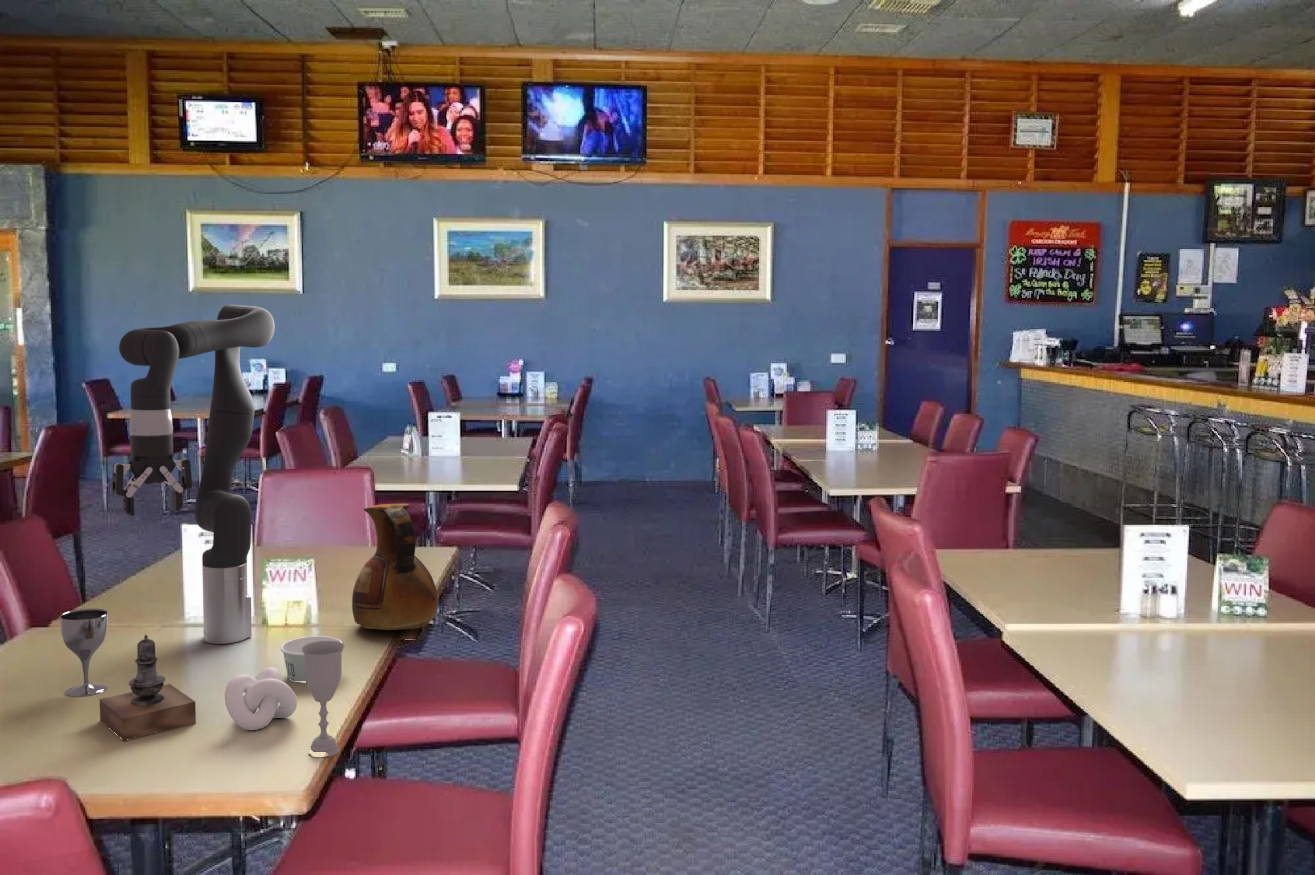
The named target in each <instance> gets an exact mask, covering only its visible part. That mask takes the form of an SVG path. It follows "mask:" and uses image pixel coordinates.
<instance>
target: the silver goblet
mask: <svg viewBox="0 0 1315 875" xmlns="http://www.w3.org/2000/svg"><path fill="white" fill-rule="evenodd" d="M59 621H60V622H59V624H60V626H59V627H60V633H61V637H62V640H63V643H64V645H65V646H66V648H68V650H70V651H71V652H72V653H73V654H75V655H76V656H77V657H78V659H79V661H80V663H81V667H82V673H83V684H78V685H76V686H72V687H69V688H68V689H67V690H65V692H64V693H65V696H68V697H75V698H77V697H78V698H80V697H81V698H82V697H90V696H94V695H95V696H96V695H98V694H101V693H104V692H105V691H106V690H108V685H106V684H103V683H94V682H93V683H90V682H89V669H90V661H91V659H92V657H93V656H94V654H95V653H96V652H97V651H98V650H99V649H100V647H101V646H102V645H103V643H104V642H105V639H106V636H107V633H108V632H107V631H108V626H109V625H108V624H109V614H108V610H106V609H102V608H80V609H73V610H69V611H67V612H64V613H62V614H61V615H59Z"/></svg>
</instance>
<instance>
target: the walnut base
mask: <svg viewBox="0 0 1315 875" xmlns="http://www.w3.org/2000/svg"><path fill="white" fill-rule="evenodd" d="M158 694H160V695H163V696H164V699H163V701H161V702H159V703H156V704H152V705H146V706H137V705H133V704H132V703H131V700H132V699H133V698H135V697H136V696H137V695H135V694H134V693H133V692H132V691H131V692H126V693H122V694H117V695H112V696H108V697H104V698H100V699H99V720H100V722H101V724H103V725H104V724H105V725H106V726H105V725H104V726H105V727H107V729H109V728H110V729H111V730H112V731H113V732H115V733H116V734H117V735H118V736H119V737H121V738H122V740H127V739H131V738H134V737H139V738H142V737H141V736H143V737H145V736H144V735H147V736H149V735H148V734H151V735H153V734H152V733H155V732H159V733H162V731H163V732H166V730H167V731H171V730H174V728H175V729H178V728H182V727H183V728H184V727H187V726H191V725H194V724H197V717H196V714H197V711H196V710H197V709H196V701H195V700H194V699H193V698H191V697H189V696H188V695H186V693H184V692H182V691H181V690H180V689H178V688H177V687H175V686H173V685H172V684H171V683H169V684H164V685H163V687H162V689H161V691H160V692H159V693H158ZM190 724H191V725H190ZM110 729H109V730H110ZM170 729H171V730H170ZM111 730H110V731H111ZM112 731H111V732H112ZM113 732H112V733H113ZM115 733H114V734H115ZM116 734H115V735H116ZM155 734H156V733H155ZM117 735H116V736H117ZM118 736H117V737H118ZM119 737H118V738H119ZM122 740H121V741H122ZM131 740H132V739H131ZM127 741H128V740H127Z"/></svg>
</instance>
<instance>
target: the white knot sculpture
mask: <svg viewBox="0 0 1315 875" xmlns="http://www.w3.org/2000/svg"><path fill="white" fill-rule="evenodd" d="M224 702H225V707H226V711H227V712H228V714H229V716H230V718H231V719H232V720H233V722H234V723H235V724H236V725H237V726H238V727H240V728H241V729H243V730H245V731H248V730H256V731H258V730H257V729H260V728H262V729H263V728H266V727H267V726H268V724H270V723H271V721H272V720H273V719H276V718H284V719H286V717H287V718H289V717H291V716H292V715H293V714H294V713H295V711H296V710H297V706H298V704H297V703H298V698H297V695H296V693H295V692H294V691H293V689H292V687H290V685H288V683H286V682H284V681H283V678H282V674H281V672H280V670H279V669H278V668H276V667H272V666H270V667H267V668H264V669H262V670H261V671H260V672H258V674H257V676H255V677H254V676H252V675H249V674H245V673H244V674H243V673H242V674H237V675H236V676H233V677H232V678H231V679H230V680H229V682H228V683H227V685H226V688H225V691H224ZM260 730H261V729H260Z"/></svg>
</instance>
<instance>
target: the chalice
mask: <svg viewBox="0 0 1315 875" xmlns="http://www.w3.org/2000/svg"><path fill="white" fill-rule="evenodd" d="M344 649H345V645H344V643H343V642H342V643H340V642H336V641H319V642H314V643H310V644H307V645H305V646H303V647H302V649H301V650H302V652H303V654H304V655H305V680H306V683H305V684H307V688H308V689H309V692H310V693H311V696H312V698H313V699H314V701H315V702H317V703H320V704H319V705H320V709H319V712H318V715H319V717H320V721H319V722H318V724H317V725H318V726H319V728H320V734H319V735H318V736H316V737H314V739H313V740H312V742H311V745H310V746H309V747H310V748H311V750H312V751H313V752H326V753H328V755H329V757H328V758H330V757H333V756H335V755H337V754H338V753H339V752H340V748H339V747H338V744H337V742H336V739H335V737H333V735H329V733H327V732H328V731H327V729H328V728H327V727H328V725H329V724H330V722H329V721H328V720H327V716H328V714H329V711H328V709H327V704H328V702H329V701H332V700H333V698H334V695H335V693H336V691H337V689H338V687H339V683H340V680H341V677H342V652H343V650H344Z"/></svg>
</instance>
